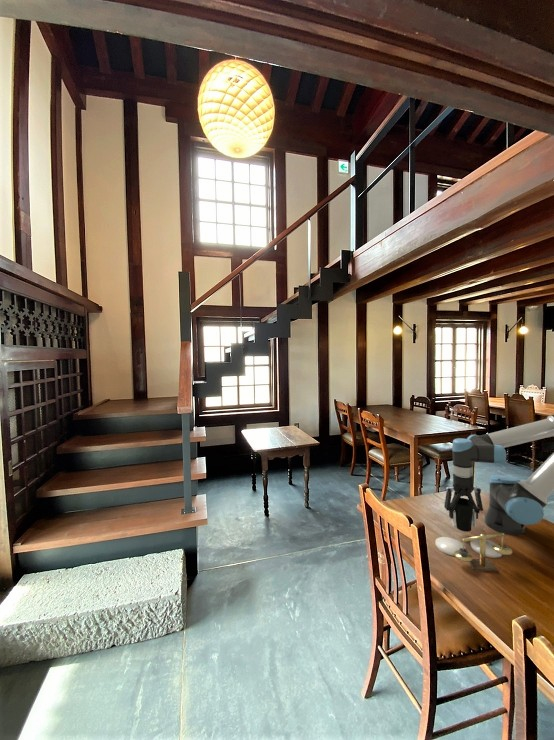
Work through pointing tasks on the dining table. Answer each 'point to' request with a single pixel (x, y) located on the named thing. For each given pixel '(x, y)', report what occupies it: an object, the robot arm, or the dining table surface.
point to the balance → (482, 553)
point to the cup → (464, 514)
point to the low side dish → (448, 545)
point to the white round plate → (489, 549)
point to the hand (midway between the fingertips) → (463, 525)
